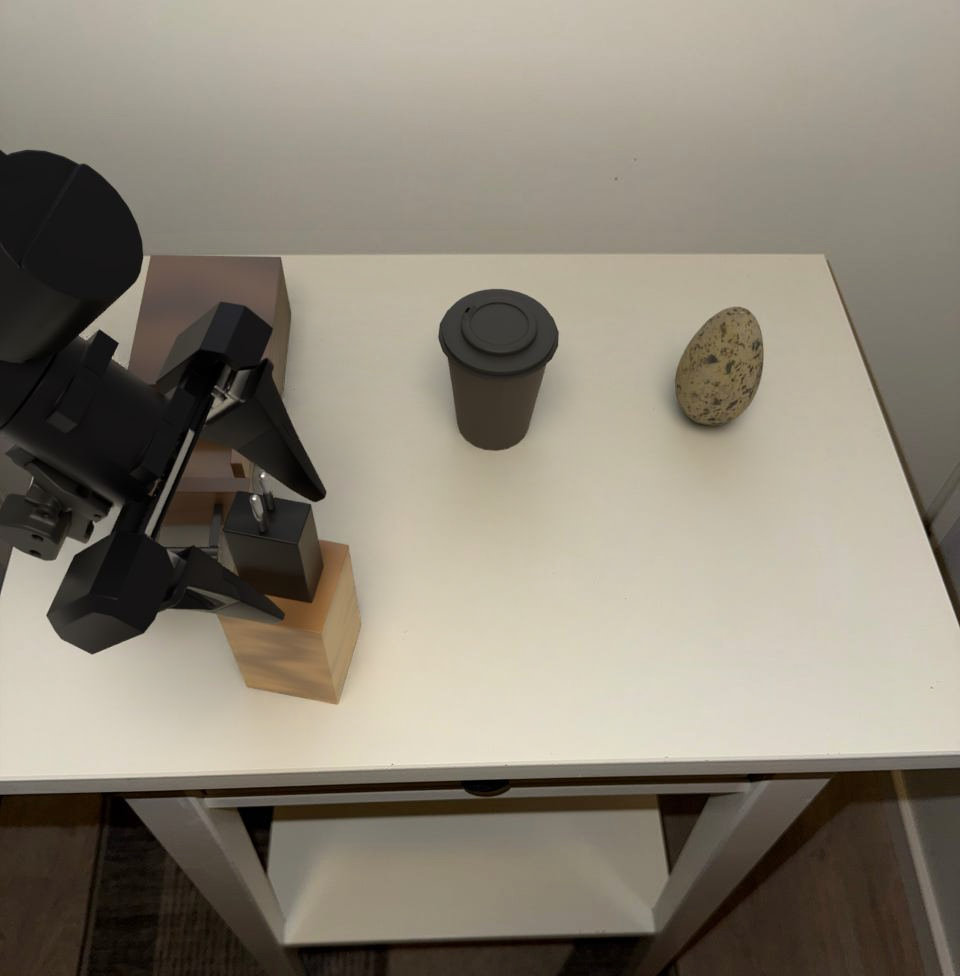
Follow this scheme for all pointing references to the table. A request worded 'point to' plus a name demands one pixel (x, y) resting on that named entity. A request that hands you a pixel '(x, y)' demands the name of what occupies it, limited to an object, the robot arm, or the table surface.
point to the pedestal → (303, 636)
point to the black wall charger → (274, 543)
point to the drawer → (208, 491)
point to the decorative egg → (721, 368)
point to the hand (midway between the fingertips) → (301, 556)
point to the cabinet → (207, 305)
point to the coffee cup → (496, 363)
